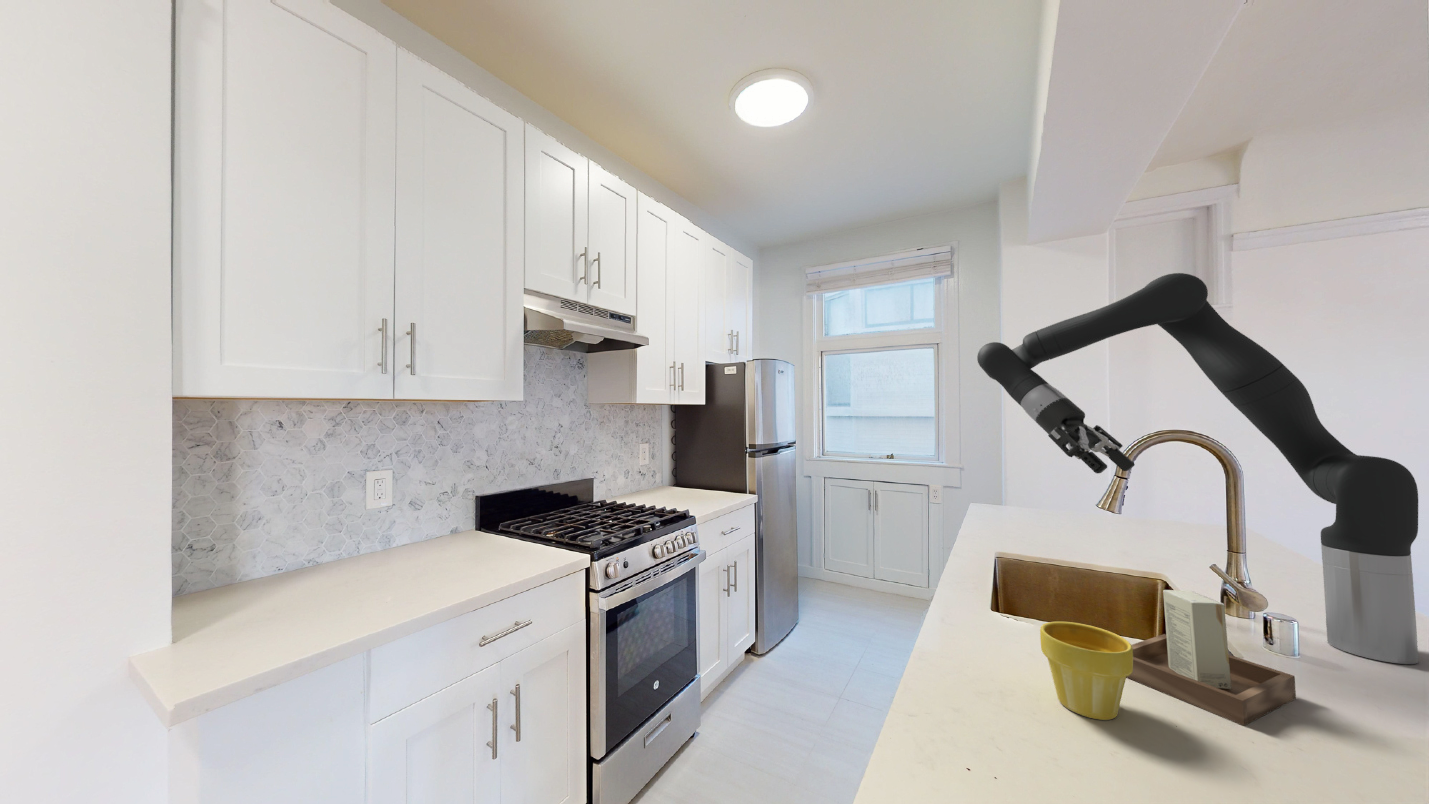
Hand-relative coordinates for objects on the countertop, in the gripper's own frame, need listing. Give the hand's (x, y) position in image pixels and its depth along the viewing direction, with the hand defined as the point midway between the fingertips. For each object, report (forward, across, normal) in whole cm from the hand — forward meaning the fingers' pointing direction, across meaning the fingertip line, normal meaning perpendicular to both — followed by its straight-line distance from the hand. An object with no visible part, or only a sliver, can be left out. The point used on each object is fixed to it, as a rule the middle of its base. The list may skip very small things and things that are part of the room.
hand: (1116, 469), depth 91 cm
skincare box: (+31, -9, +11) cm, 34 cm away
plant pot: (+29, -30, +14) cm, 44 cm away
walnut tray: (+32, -9, +12) cm, 35 cm away
